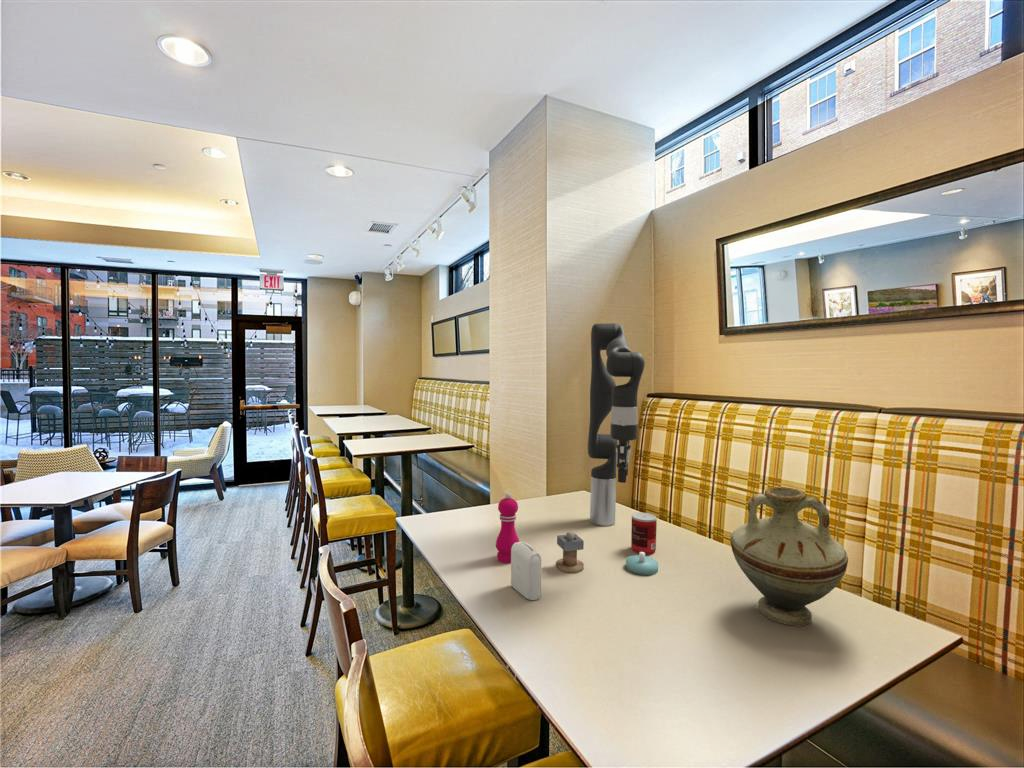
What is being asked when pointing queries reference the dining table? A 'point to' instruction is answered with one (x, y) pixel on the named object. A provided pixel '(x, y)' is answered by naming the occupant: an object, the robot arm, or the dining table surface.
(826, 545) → the amphora
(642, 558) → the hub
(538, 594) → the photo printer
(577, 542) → the square metal frame
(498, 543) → the pepper mill
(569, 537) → the stand
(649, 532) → the canned food
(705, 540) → the dining table surface
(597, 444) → the robot arm
